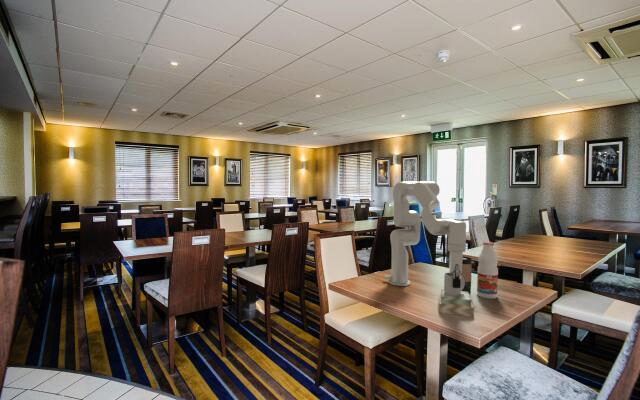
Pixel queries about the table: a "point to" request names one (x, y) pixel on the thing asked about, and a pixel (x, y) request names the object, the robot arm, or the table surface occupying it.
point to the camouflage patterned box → (456, 304)
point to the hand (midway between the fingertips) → (455, 284)
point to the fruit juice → (487, 272)
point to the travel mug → (466, 273)
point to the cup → (449, 285)
